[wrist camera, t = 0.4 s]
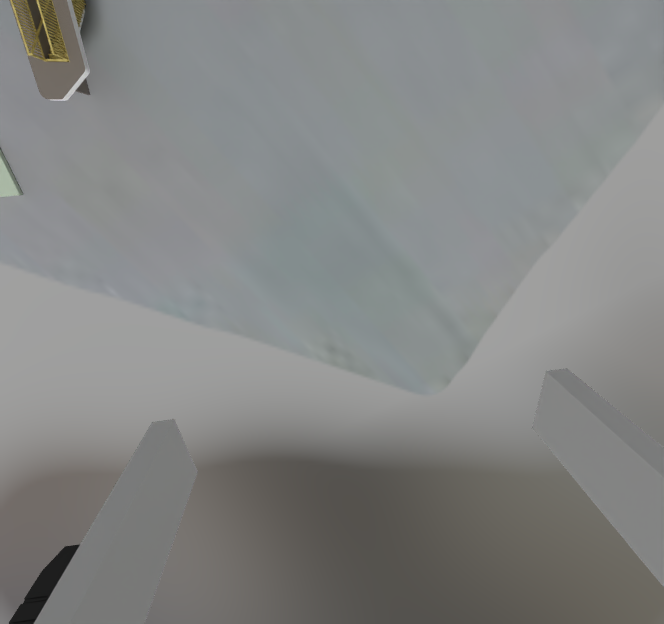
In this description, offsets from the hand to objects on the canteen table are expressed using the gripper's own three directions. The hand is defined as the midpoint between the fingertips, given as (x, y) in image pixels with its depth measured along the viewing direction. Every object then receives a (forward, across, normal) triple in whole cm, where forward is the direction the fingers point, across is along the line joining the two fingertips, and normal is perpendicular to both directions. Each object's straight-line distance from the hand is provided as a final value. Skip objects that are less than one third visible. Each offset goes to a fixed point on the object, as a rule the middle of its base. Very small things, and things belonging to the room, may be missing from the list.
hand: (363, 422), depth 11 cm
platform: (+28, -18, +20) cm, 39 cm away
